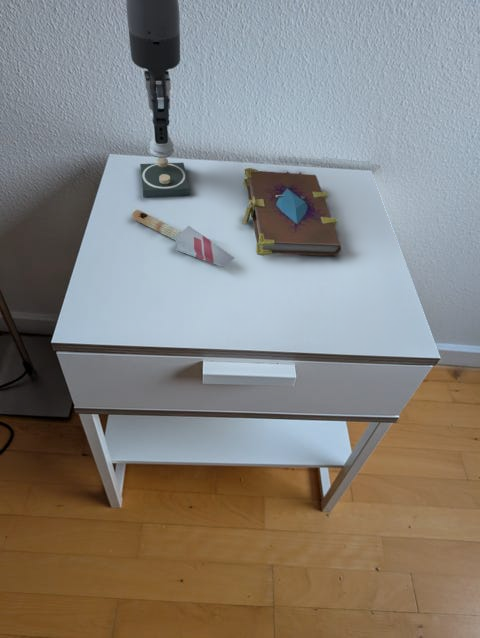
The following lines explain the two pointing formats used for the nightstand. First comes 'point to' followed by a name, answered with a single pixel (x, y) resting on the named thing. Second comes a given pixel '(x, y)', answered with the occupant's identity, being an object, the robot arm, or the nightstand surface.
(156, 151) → the rook chess piece
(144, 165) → the green square board
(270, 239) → the book
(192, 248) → the grey trowel
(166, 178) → the eye pad
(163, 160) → the eye pad
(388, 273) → the nightstand surface
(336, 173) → the nightstand surface
